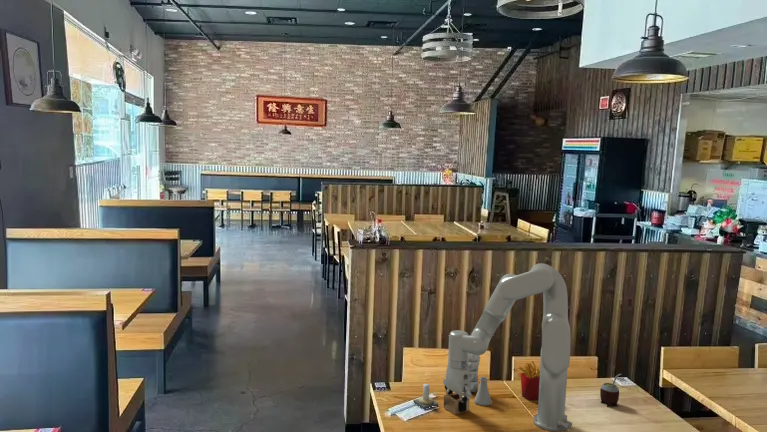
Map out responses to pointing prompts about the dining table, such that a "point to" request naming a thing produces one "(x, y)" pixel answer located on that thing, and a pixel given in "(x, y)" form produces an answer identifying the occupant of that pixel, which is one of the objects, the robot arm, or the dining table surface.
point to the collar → (453, 403)
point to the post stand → (425, 399)
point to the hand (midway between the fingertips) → (456, 407)
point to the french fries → (530, 382)
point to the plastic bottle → (473, 371)
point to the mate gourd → (609, 393)
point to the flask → (483, 393)
